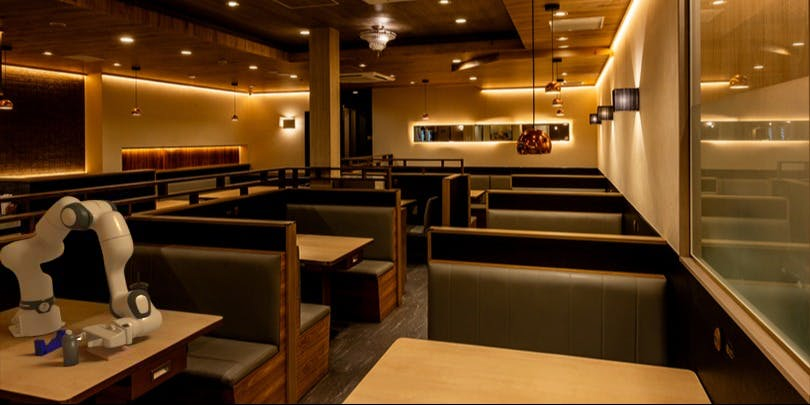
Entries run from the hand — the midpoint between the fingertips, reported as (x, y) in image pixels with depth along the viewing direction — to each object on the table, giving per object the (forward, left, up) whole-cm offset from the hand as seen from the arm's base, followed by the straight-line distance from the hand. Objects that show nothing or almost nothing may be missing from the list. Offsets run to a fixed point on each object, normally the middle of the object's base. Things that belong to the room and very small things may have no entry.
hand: (80, 342), depth 200 cm
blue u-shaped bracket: (-21, -2, -7) cm, 23 cm away
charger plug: (0, -4, -7) cm, 8 cm away
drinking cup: (-33, +40, -7) cm, 53 cm away
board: (0, +10, -7) cm, 12 cm away
